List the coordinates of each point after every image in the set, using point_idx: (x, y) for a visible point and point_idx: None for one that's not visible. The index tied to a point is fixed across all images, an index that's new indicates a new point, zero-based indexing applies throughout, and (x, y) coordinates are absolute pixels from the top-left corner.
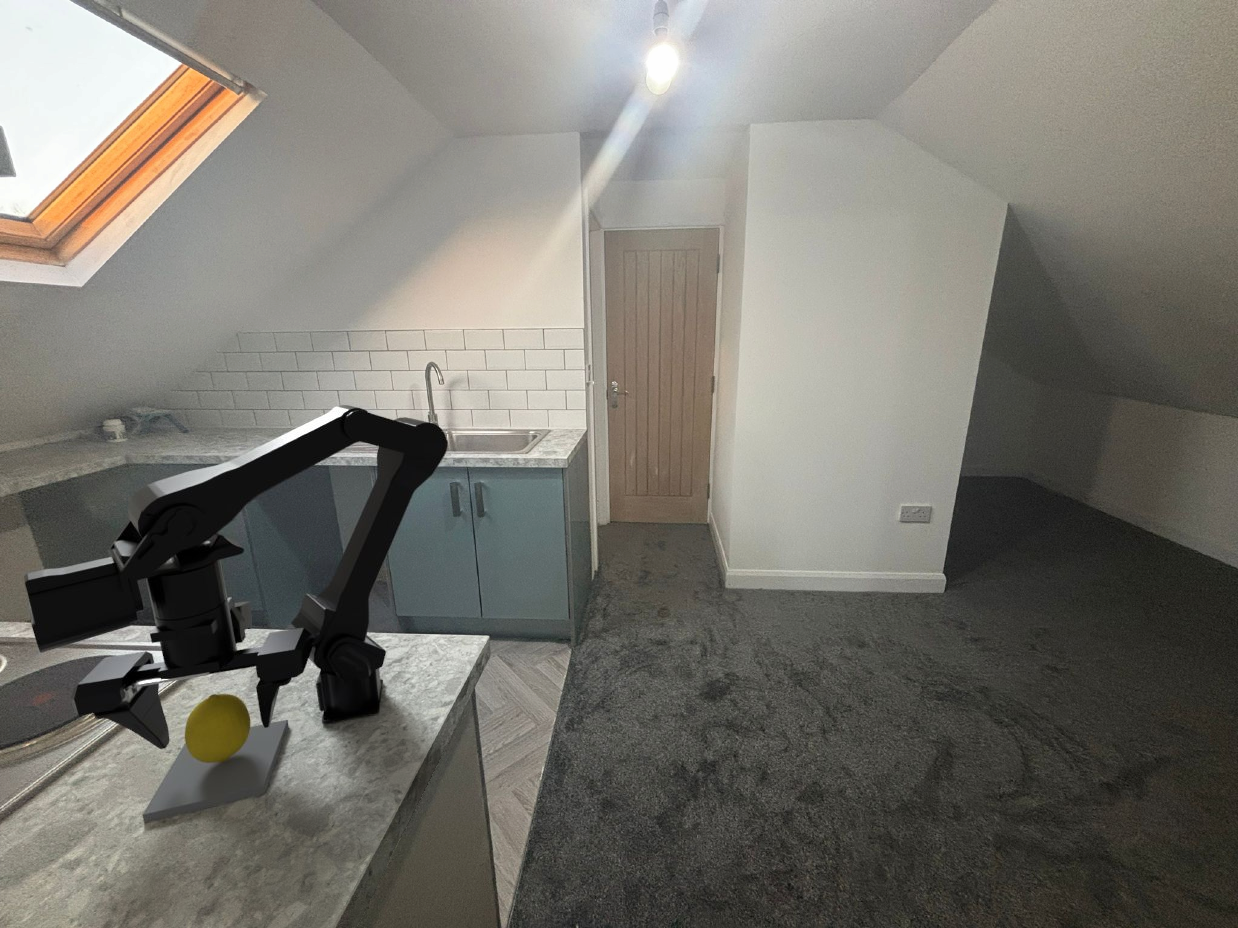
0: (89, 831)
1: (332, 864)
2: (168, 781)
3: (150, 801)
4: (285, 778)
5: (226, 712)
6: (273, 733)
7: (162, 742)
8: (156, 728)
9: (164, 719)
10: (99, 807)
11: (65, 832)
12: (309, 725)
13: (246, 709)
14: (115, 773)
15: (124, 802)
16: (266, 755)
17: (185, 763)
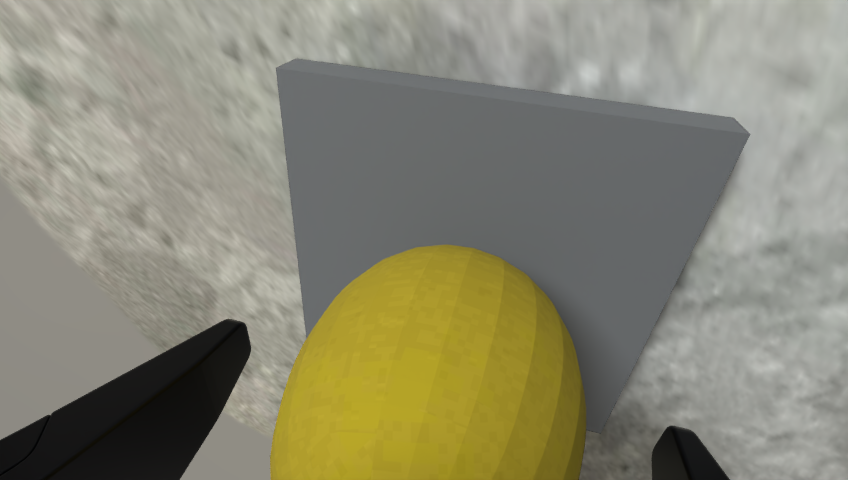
0: (211, 302)
1: None
2: (318, 279)
3: (306, 329)
4: (663, 388)
5: None
6: (658, 213)
7: (230, 391)
8: (165, 473)
9: (150, 412)
10: (178, 236)
11: (159, 278)
12: (839, 159)
13: (578, 471)
14: (117, 100)
15: (232, 249)
16: (617, 326)
17: (335, 223)
